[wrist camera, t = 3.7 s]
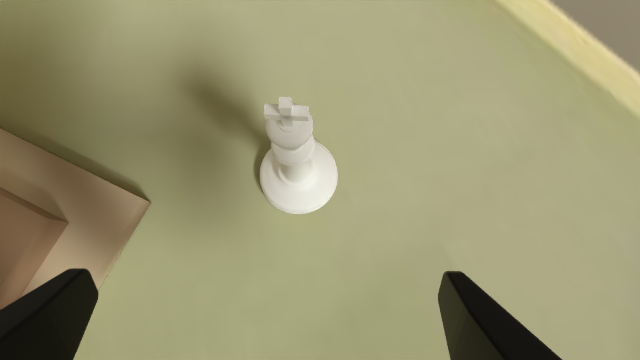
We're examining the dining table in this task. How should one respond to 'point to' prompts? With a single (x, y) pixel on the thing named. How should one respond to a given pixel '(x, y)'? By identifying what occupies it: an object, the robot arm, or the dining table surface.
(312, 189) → the chess piece
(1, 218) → the pedestal
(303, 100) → the dining table surface
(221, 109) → the dining table surface
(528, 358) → the robot arm
